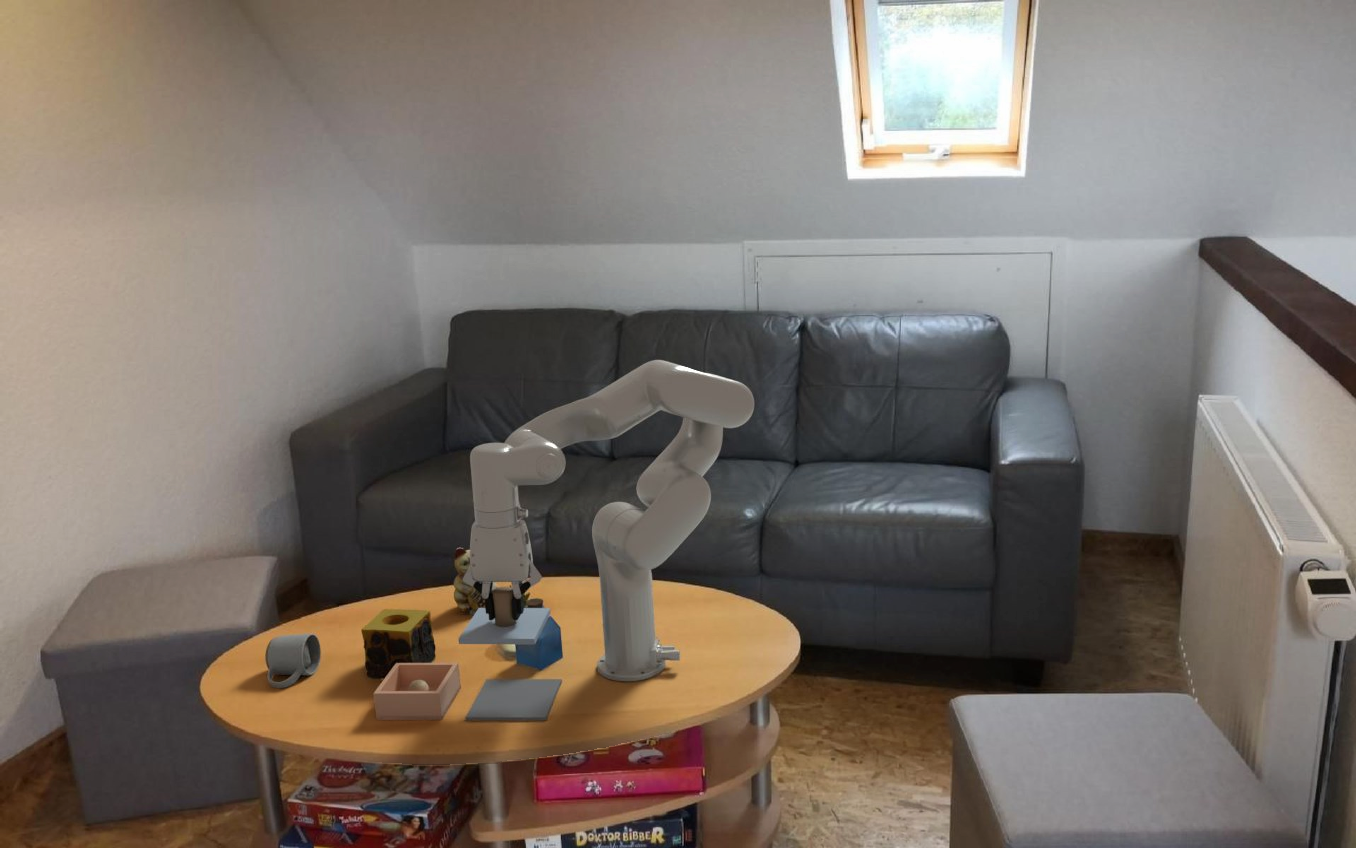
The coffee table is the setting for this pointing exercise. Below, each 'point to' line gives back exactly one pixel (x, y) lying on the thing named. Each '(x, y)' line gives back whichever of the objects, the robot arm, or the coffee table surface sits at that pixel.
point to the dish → (417, 704)
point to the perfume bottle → (541, 643)
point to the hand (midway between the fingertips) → (505, 616)
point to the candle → (397, 640)
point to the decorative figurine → (466, 585)
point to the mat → (514, 700)
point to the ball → (418, 686)
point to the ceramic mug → (292, 657)
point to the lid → (504, 623)
